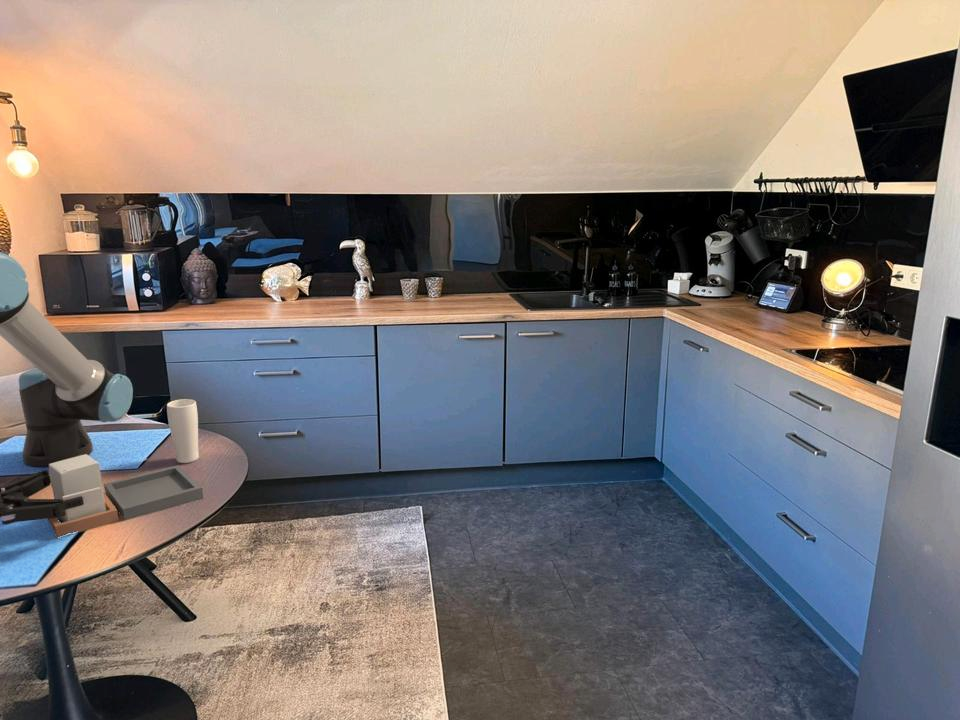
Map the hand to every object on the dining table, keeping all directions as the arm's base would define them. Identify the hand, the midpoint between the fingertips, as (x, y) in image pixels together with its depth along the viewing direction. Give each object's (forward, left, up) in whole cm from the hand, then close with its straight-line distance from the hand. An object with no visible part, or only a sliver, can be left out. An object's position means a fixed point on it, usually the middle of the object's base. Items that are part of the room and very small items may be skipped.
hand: (93, 482), depth 141 cm
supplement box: (0, -3, -8) cm, 8 cm away
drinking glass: (-18, +24, -8) cm, 31 cm away
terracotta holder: (0, -3, -7) cm, 8 cm away
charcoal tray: (-2, +12, -7) cm, 14 cm away
